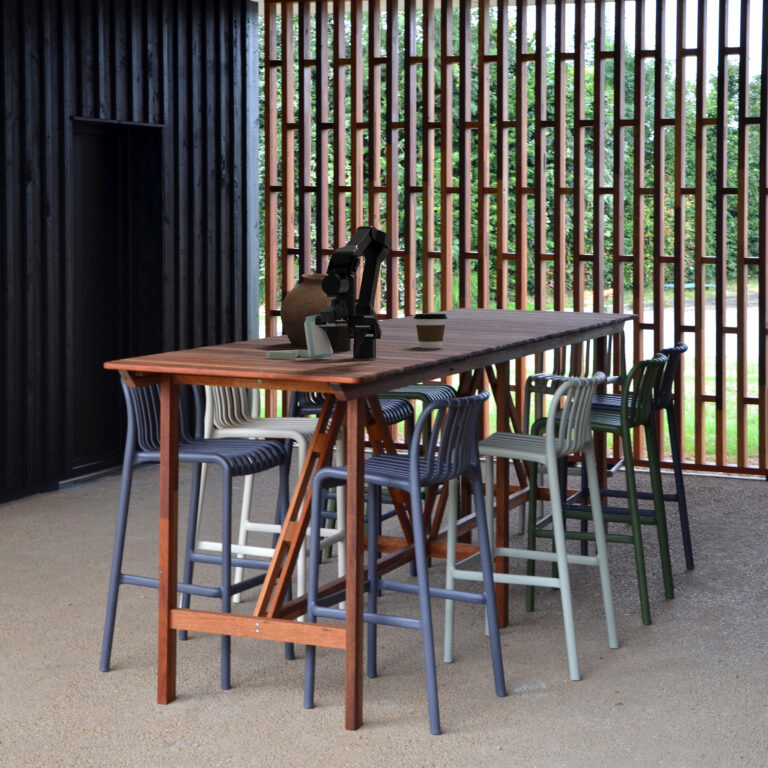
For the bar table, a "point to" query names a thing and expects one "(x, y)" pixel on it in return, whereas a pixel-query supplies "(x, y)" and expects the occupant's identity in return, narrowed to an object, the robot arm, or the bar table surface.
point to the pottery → (302, 307)
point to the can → (316, 339)
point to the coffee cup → (430, 329)
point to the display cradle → (286, 354)
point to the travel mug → (341, 331)
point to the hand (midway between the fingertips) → (345, 351)
